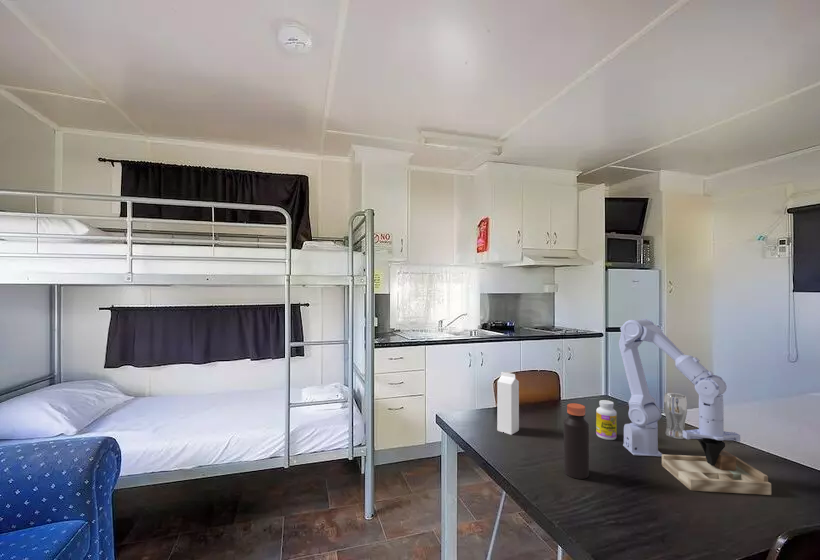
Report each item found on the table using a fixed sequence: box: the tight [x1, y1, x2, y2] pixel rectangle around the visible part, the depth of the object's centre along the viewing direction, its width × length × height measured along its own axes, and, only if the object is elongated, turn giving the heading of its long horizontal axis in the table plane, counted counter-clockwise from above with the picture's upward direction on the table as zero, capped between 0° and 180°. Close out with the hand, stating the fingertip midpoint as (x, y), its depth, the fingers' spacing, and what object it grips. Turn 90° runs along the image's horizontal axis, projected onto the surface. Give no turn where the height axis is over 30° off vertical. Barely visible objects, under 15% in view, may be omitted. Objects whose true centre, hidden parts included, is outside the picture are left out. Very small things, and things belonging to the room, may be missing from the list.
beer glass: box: [663, 392, 688, 440], centre depth 139 cm, size 7×7×15 cm
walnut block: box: [715, 450, 737, 471], centre depth 110 cm, size 4×4×4 cm
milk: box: [496, 371, 520, 436], centre depth 143 cm, size 6×6×22 cm
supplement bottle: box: [595, 399, 618, 441], centre depth 138 cm, size 7×7×13 cm
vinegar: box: [563, 402, 590, 480], centre depth 111 cm, size 7×7×20 cm
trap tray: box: [661, 453, 772, 496], centre depth 108 cm, size 20×14×4 cm
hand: (711, 464), depth 110 cm, fingers closed
